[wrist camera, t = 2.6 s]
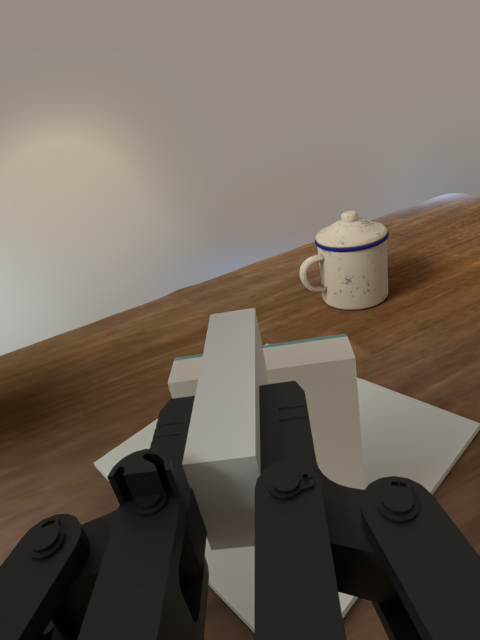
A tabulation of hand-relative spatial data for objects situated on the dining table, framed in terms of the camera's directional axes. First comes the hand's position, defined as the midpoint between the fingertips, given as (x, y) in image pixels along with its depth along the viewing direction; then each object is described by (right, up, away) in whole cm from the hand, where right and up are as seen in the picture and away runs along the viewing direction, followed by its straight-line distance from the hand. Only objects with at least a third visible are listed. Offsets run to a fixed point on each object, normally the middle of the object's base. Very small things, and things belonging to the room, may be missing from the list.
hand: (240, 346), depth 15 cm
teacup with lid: (+14, +4, +45) cm, 47 cm away
